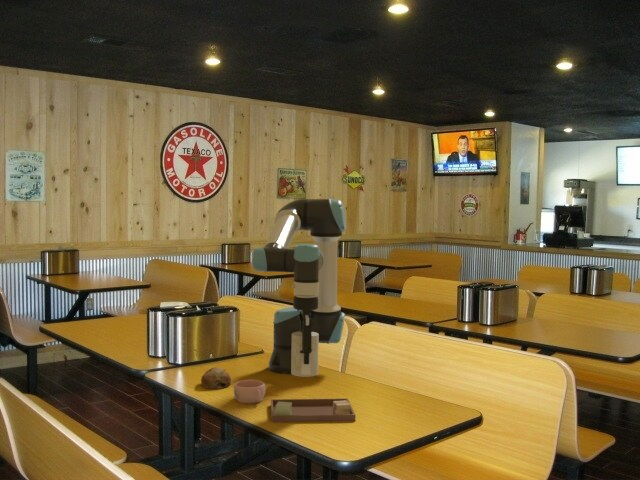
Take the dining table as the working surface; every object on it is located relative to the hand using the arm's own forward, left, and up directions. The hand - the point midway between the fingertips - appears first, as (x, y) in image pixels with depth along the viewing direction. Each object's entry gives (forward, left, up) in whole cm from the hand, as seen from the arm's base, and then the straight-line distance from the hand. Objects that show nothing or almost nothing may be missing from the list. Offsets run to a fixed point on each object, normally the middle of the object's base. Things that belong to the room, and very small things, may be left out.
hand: (304, 370), depth 201 cm
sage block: (+7, -6, -12) cm, 15 cm away
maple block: (+6, +11, -12) cm, 17 cm away
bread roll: (-31, -28, -13) cm, 44 cm away
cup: (0, 0, -1) cm, 1 cm away
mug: (-10, -16, -13) cm, 23 cm away
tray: (+3, +2, -13) cm, 13 cm away
